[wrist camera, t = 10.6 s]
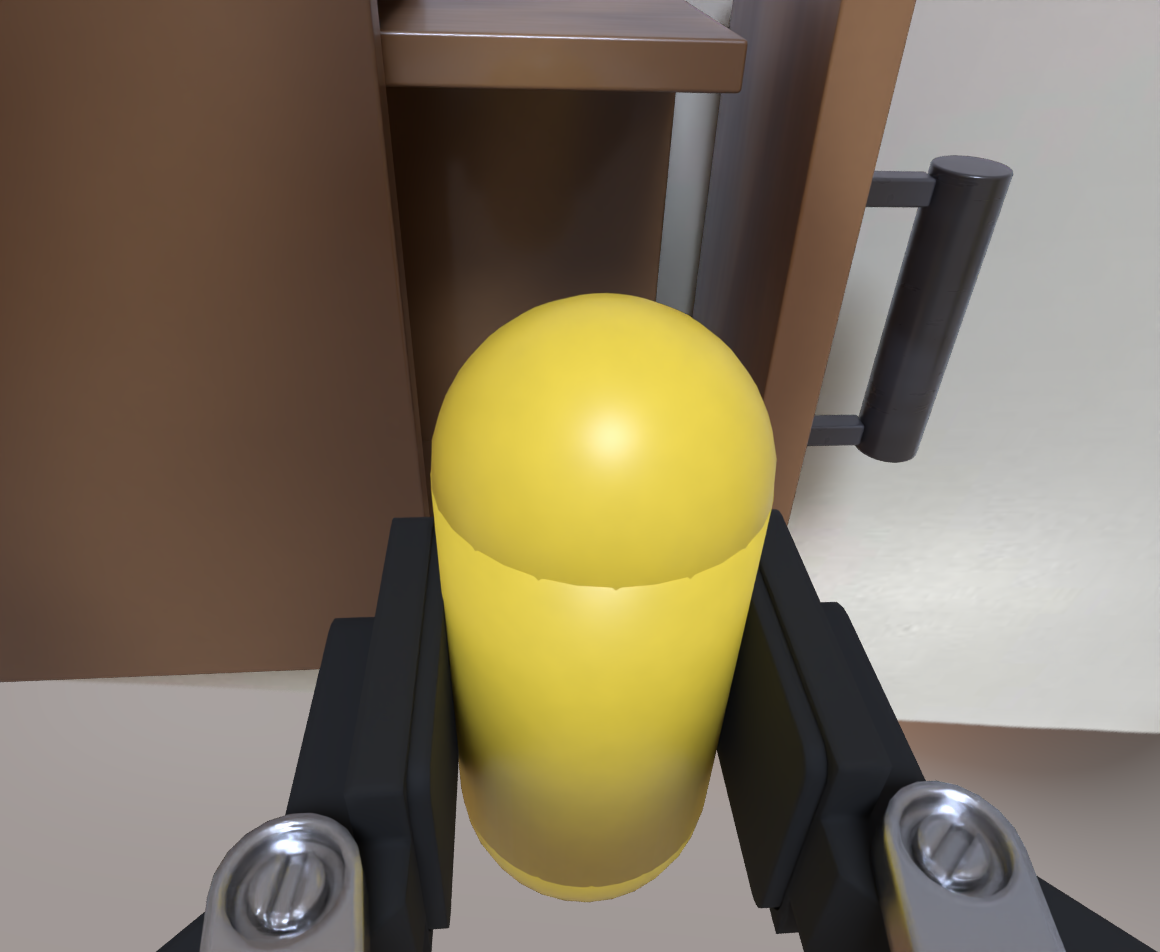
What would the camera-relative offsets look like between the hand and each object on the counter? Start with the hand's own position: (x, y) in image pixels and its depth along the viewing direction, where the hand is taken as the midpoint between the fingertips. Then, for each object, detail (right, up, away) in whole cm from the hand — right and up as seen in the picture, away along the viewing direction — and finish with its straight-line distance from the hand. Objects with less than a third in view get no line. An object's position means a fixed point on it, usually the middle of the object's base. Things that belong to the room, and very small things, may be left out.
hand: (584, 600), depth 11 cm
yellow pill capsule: (+1, +1, 0) cm, 1 cm away
